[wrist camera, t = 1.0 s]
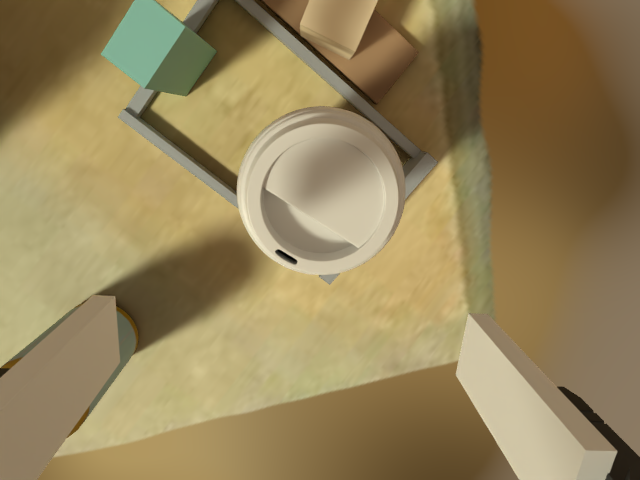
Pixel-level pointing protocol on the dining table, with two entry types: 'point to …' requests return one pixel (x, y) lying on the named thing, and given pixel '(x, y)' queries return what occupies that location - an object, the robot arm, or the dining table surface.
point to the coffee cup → (321, 190)
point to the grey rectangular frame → (189, 63)
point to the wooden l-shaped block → (359, 50)
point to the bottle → (126, 350)
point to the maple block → (337, 24)
